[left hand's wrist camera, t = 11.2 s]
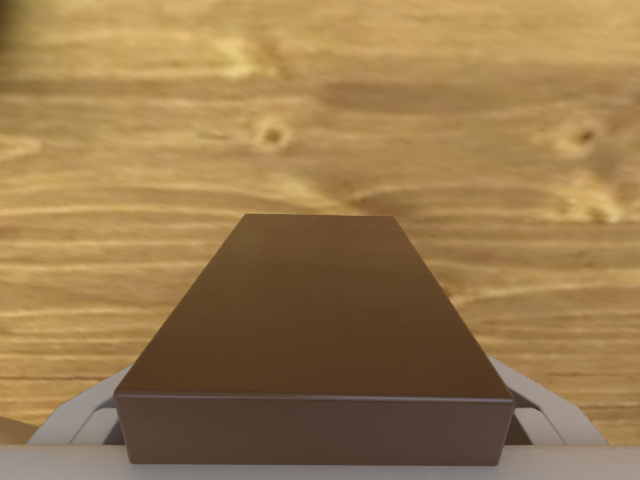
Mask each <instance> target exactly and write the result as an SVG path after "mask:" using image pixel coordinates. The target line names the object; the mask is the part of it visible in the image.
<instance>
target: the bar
mask: <svg viewBox="0 0 640 480" xmlns="http://www.w3.org/2000/svg"><path fill="white" fill-rule="evenodd" d="M113 398H114V402H115V406H116V410H117V414H118V418H119V422H120V426H121V430H122V434H123V438H124V442H125V446H126V450H127V454H128V457H129V461H130V463H132V464H188V465H361V466H497V465H498V464H499V461H500V457H501V454H502V450H503V447H504V443H505V440H506V437H507V433H508V430H509V426H510V423H511V419H512V416H513V413H514V409H515V406H516V403H515V398H514V396H513V395H512V393H511V392H510V390H509V389H508V387H507V386H506V384H505V383H504V381H503V380H502V378H501V377H500V375H499V374H498V372H497V371H496V369H495V368H494V366H493V365H492V363H491V362H490V360H489V359H488V357H487V356H486V354H485V353H484V351H483V350H482V348H481V347H480V345H479V344H478V342H477V341H476V339H475V338H474V336H473V335H472V333H471V332H470V330H469V329H468V327H467V326H466V324H465V323H464V321H463V320H462V318H461V317H460V315H459V314H458V312H457V311H456V309H455V308H454V306H453V305H452V303H451V302H450V300H449V299H448V297H447V296H446V294H445V293H444V291H443V290H442V288H441V287H440V285H439V284H438V282H437V281H436V279H435V278H434V276H433V275H432V273H431V272H430V270H429V269H428V267H427V266H426V264H425V263H424V261H423V260H422V258H421V257H420V255H419V254H418V252H417V251H416V249H415V248H414V246H413V245H412V243H411V242H410V240H409V239H408V237H407V236H406V234H405V233H404V231H403V230H402V228H401V227H400V225H399V224H398V222H397V221H396V219H395V218H394V217H385V216H335V215H285V214H245V215H244V216H243V218H242V219H241V220H240V222H239V223H238V224H237V226H236V227H235V228H234V230H233V231H232V232H231V234H230V235H229V236H228V238H227V239H226V240H225V242H224V243H223V244H222V246H221V247H220V249H219V250H218V251H217V253H216V254H215V255H214V257H213V258H212V259H211V261H210V262H209V263H208V265H207V266H206V267H205V269H204V270H203V271H202V273H201V274H200V275H199V277H198V278H197V279H196V281H195V282H194V283H193V285H192V286H191V288H190V289H189V290H188V292H187V293H186V294H185V296H184V297H183V298H182V300H181V301H180V302H179V304H178V305H177V306H176V308H175V309H174V310H173V312H172V313H171V314H170V316H169V317H168V318H167V320H166V321H165V322H164V324H163V325H162V327H161V328H160V329H159V331H158V332H157V333H156V335H155V336H154V337H153V339H152V340H151V341H150V343H149V344H148V345H147V347H146V348H145V349H144V351H143V352H142V353H141V355H140V356H139V357H138V359H137V360H136V361H135V363H134V364H133V366H132V367H131V368H130V370H129V371H128V372H127V374H126V375H125V376H124V378H123V379H122V380H121V382H120V383H119V384H118V386H117V387H116V388H115V390H114V394H113Z"/></svg>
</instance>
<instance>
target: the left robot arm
mask: <svg viewBox="0 0 640 480" xmlns="http://www.w3.org/2000/svg"><path fill="white" fill-rule="evenodd" d="M486 356H487V357H488V359H489V360H490V362H491V363H492V365H493V366H494V368H495V369H496V371H497V372H498V374H499V375H500V377H501V378H502V380H503V381H504V383H505V384H506V386H507V387H508V389H509V390H510V392H511V393H512V395H513V396H514V398H515V403H516V406H515V409H514V413H513V416H512V419H511V423H510V426H509V430H508V433H507V437H506V440H505V443H504V447H503V450H502V454H501V457H500V461H499V464H498V465H497V466H361V465H188V464H132V463H130V461H129V457H128V454H127V450H126V446H125V442H124V438H123V434H122V430H121V426H120V422H119V418H118V414H117V410H116V406H115V402H114V398H113V394H114V390H115V388H116V387H117V386H118V384H119V383H120V382H121V380H122V379H123V378H124V376H125V375H126V374H127V372H128V371H129V370H130V368H131V367H132V366H133V364H134V363H133V364H131V365H129V366H128V367H126V368H124V369H122V370H121V371H119V372H117V373H115V374H114V375H112V376H110V377H108V378H107V379H105V380H103V381H101V382H100V383H98V384H96V385H94V386H93V387H91V388H89V389H87V390H86V391H84V392H82V393H80V394H79V395H77V396H75V397H73V398H72V399H70V400H68V401H66V402H65V403H63V404H61V405H59V406H58V407H57V408H56V409H55V410H54V412H53V413H52V414H51V415H50V416H49V417H48V418H47V420H46V421H45V422H44V423H43V424H42V425H41V426H40V428H39V429H38V430H37V431H36V432H35V433H34V434H33V436H32V437H31V438H30V439H29V440H28V441H27V442H26V444H25V445H0V480H640V445H610V444H609V443H608V441H607V440H606V439H605V438H604V437H603V436H602V434H601V433H600V432H599V431H598V430H597V428H596V427H595V426H594V425H593V424H592V423H591V421H590V420H589V419H588V418H587V417H586V416H585V414H584V413H583V412H582V411H581V410H580V409H579V407H578V406H576V405H574V404H572V403H571V402H569V401H567V400H565V399H564V398H562V397H560V396H559V395H557V394H555V393H553V392H552V391H550V390H548V389H546V388H545V387H543V386H541V385H540V384H538V383H536V382H534V381H533V380H531V379H529V378H527V377H526V376H524V375H522V374H521V373H519V372H517V371H515V370H514V369H512V368H510V367H508V366H507V365H505V364H503V363H502V362H500V361H498V360H496V359H495V358H493V357H491V356H489V355H486Z"/></svg>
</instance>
